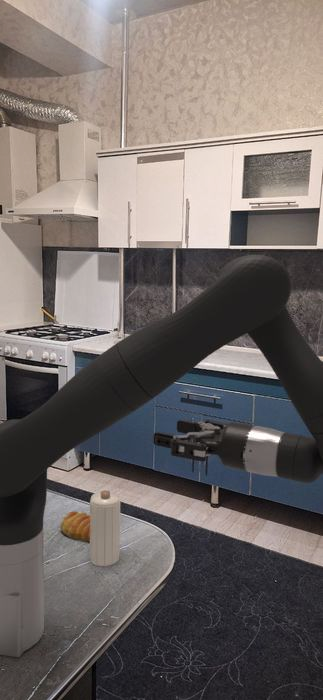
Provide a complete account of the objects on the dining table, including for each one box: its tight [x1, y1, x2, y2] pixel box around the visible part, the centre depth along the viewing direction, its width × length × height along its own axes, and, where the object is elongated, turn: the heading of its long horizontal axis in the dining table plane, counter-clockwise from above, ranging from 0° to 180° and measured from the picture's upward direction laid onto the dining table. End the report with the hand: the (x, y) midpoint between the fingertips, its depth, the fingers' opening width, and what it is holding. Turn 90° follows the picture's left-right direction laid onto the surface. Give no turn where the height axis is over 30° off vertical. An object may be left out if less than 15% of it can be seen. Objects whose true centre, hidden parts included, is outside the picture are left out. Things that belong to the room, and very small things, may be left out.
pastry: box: [59, 510, 90, 542], centre depth 107 cm, size 9×7×4 cm
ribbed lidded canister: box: [89, 490, 121, 567], centre depth 97 cm, size 6×6×14 cm
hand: (166, 431), depth 88 cm, fingers open, 8 cm apart
